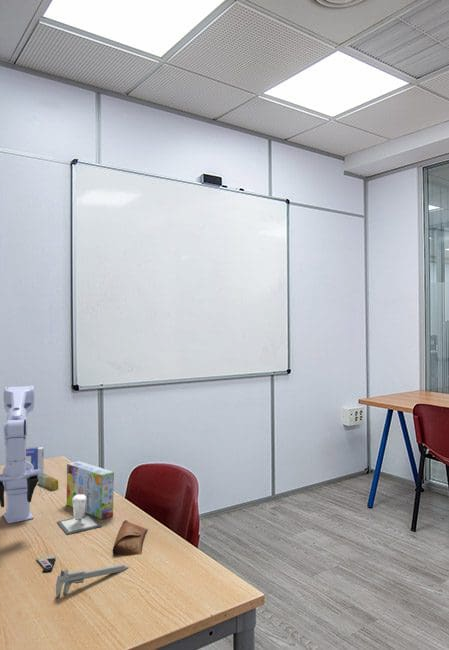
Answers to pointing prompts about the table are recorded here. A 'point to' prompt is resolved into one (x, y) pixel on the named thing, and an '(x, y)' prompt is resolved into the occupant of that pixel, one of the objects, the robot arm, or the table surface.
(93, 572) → the caliper
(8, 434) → the robot arm
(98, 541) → the table surface
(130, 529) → the sunglasses case
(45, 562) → the usb flash drive
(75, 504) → the milkshake
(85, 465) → the snack box
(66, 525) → the mat
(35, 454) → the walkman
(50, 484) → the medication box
